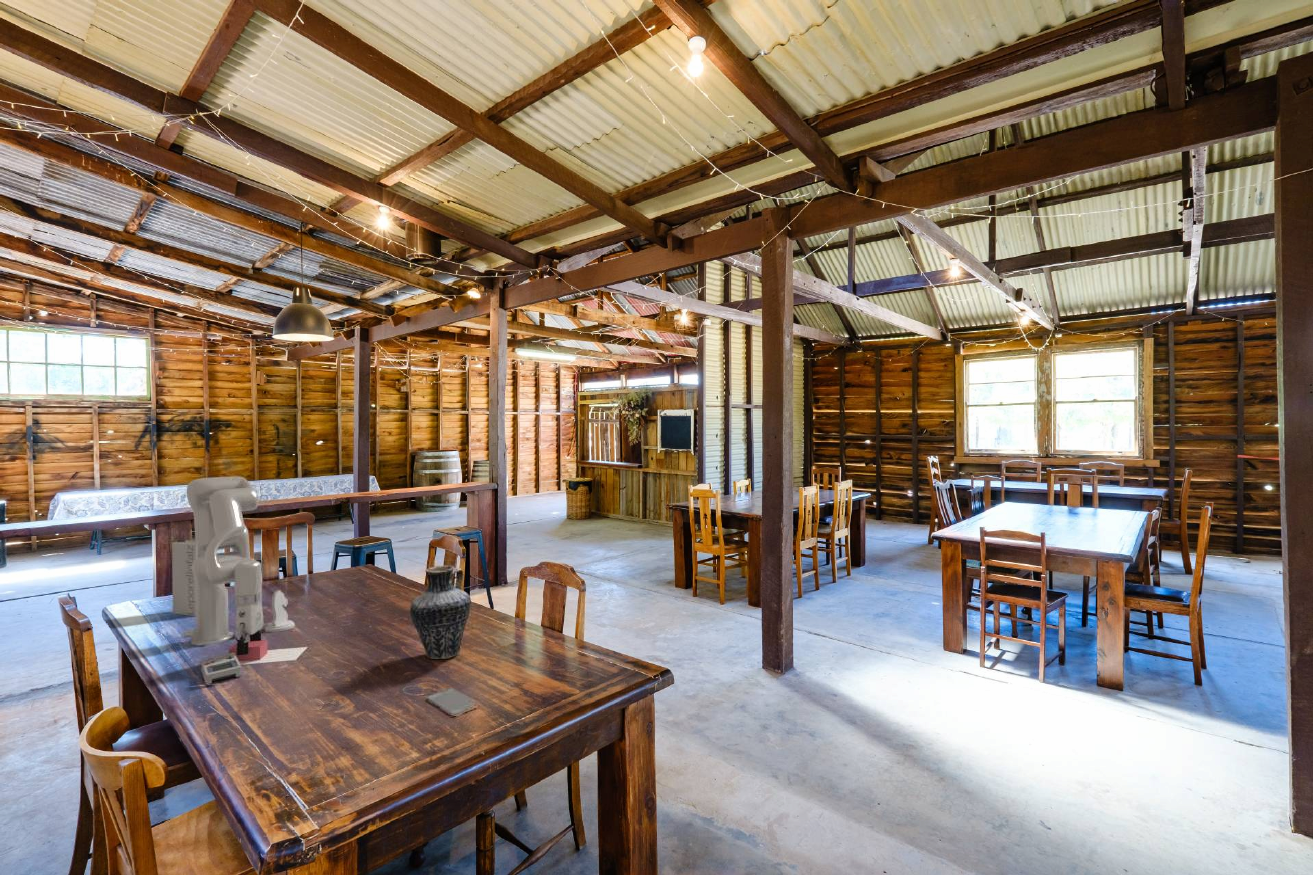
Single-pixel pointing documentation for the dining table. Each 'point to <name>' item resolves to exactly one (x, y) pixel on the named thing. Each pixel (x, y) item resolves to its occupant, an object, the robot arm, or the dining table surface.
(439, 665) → the dining table surface
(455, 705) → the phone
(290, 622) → the chess piece
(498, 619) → the dining table surface
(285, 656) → the mat
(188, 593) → the brochure
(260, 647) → the card box
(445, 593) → the jug
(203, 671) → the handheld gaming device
